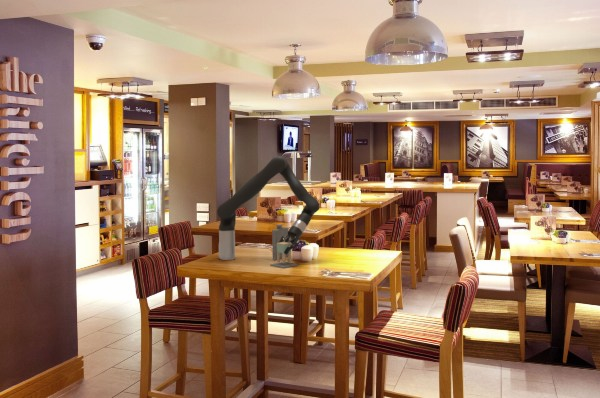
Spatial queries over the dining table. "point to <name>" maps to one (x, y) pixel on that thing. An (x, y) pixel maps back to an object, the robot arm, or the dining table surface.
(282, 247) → the stool
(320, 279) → the dining table surface
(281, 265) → the slate mat
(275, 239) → the hip flask
